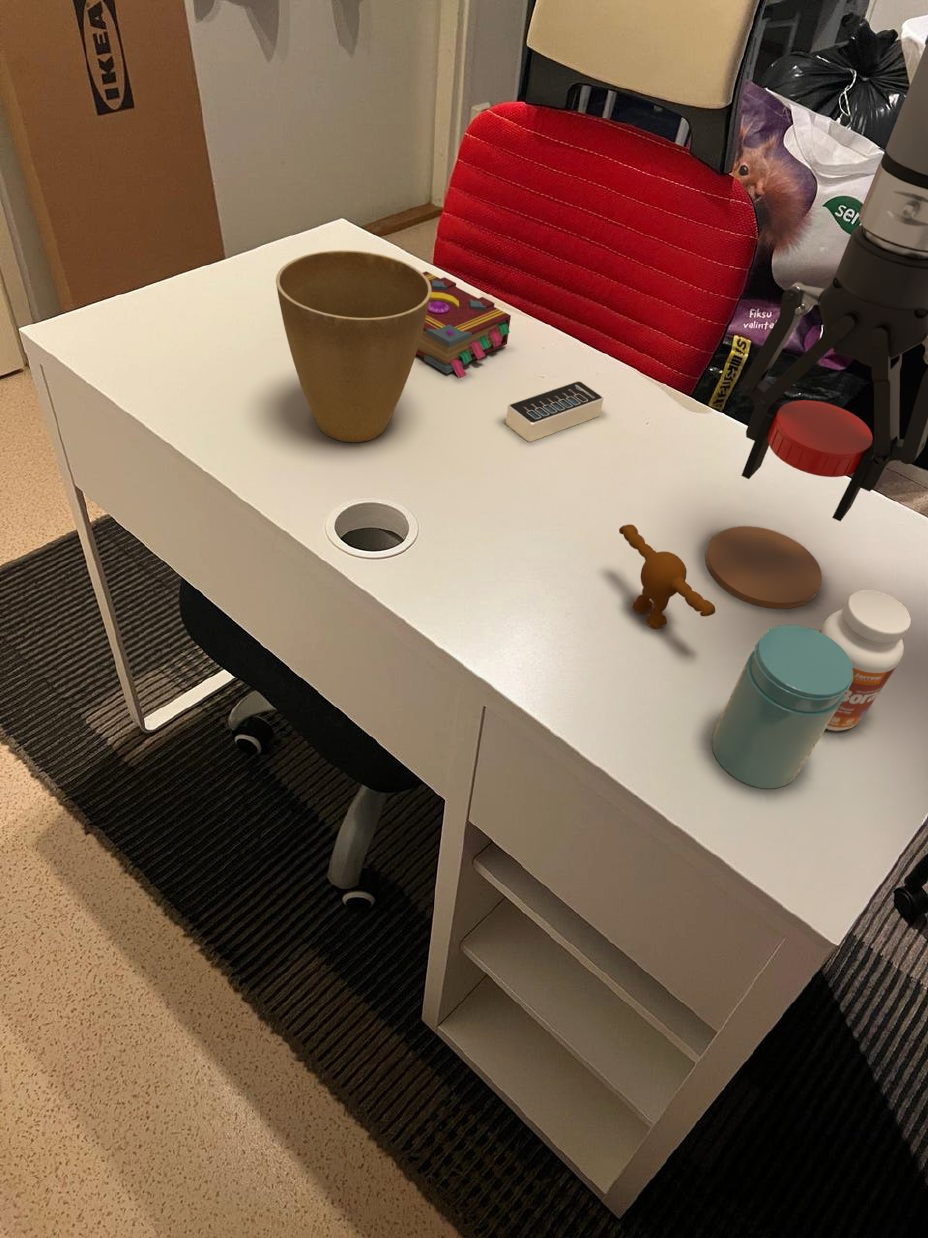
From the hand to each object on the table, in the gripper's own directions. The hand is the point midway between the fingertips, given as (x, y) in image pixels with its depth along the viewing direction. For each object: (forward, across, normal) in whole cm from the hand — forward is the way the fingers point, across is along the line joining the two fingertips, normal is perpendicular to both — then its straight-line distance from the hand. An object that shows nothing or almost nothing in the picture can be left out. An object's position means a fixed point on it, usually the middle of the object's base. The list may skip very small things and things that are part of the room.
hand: (795, 491), depth 81 cm
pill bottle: (+9, +11, -13) cm, 19 cm away
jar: (+9, +9, -21) cm, 25 cm away
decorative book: (+10, -49, +12) cm, 52 cm away
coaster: (+9, 0, 0) cm, 9 cm away
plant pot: (+10, -44, -9) cm, 46 cm away
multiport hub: (+10, -29, +7) cm, 31 cm away
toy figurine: (+9, -5, -13) cm, 17 cm away
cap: (-6, 0, 0) cm, 6 cm away
